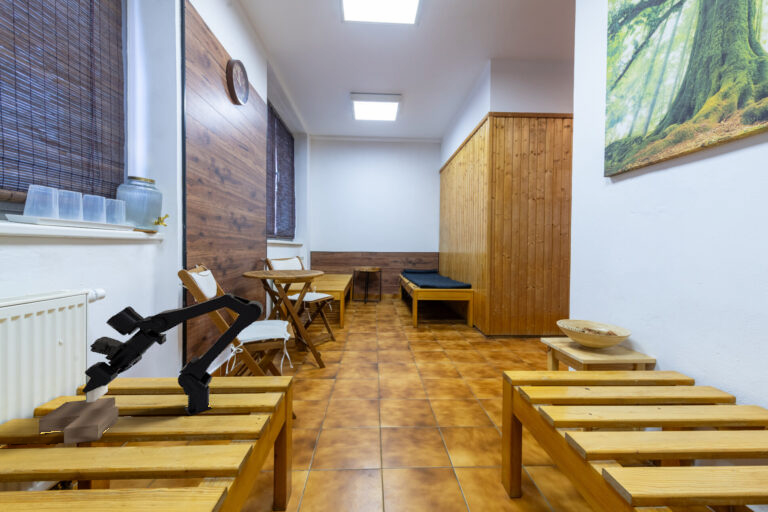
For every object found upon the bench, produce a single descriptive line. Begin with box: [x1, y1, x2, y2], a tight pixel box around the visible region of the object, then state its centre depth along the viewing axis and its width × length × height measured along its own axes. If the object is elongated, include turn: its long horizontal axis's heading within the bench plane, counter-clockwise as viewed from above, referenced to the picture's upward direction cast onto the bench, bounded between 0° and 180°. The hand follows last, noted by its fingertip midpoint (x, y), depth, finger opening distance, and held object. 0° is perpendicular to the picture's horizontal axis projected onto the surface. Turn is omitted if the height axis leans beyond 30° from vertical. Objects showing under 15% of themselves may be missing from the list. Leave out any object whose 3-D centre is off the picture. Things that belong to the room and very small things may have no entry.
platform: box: [38, 396, 119, 445], centre depth 84 cm, size 16×16×4 cm
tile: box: [85, 375, 109, 402], centre depth 88 cm, size 2×6×8 cm, turn 17°
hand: (91, 386), depth 87 cm, fingers closed on tile, 6 cm apart
